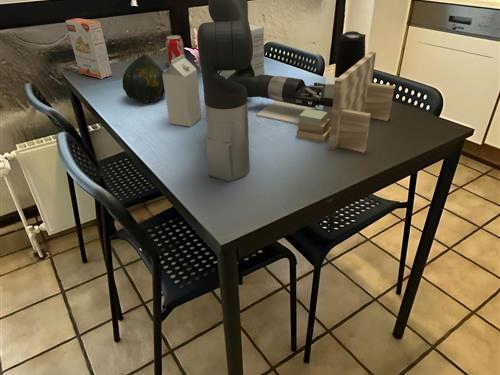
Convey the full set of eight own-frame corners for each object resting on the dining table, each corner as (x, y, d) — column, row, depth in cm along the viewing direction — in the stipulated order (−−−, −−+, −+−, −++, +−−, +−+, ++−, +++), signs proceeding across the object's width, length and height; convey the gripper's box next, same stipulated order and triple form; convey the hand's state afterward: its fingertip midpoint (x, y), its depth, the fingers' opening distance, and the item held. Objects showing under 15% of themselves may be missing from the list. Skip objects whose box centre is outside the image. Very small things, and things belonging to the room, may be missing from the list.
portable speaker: (340, 88, 141) (346, 29, 130) (364, 93, 135) (373, 33, 125) (327, 94, 135) (332, 34, 125) (352, 101, 130) (360, 38, 119)
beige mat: (297, 124, 116) (297, 123, 116) (256, 115, 122) (256, 114, 122) (316, 108, 126) (316, 106, 125) (277, 100, 132) (277, 99, 132)
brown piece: (361, 156, 99) (371, 85, 89) (328, 149, 103) (334, 80, 93) (390, 116, 119) (401, 55, 109) (362, 111, 123) (370, 51, 113)
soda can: (178, 70, 164) (174, 39, 158) (165, 67, 167) (161, 37, 161) (189, 65, 169) (185, 36, 162) (176, 63, 172) (173, 34, 166)
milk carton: (169, 124, 119) (159, 59, 108) (181, 115, 124) (173, 52, 114) (190, 127, 117) (182, 61, 106) (201, 117, 122) (195, 54, 112)
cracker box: (78, 74, 162) (64, 20, 151) (91, 71, 166) (78, 17, 155) (100, 80, 156) (87, 23, 144) (113, 76, 160) (101, 20, 148)
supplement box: (217, 75, 157) (214, 28, 147) (239, 67, 165) (238, 22, 155) (242, 82, 149) (241, 33, 140) (265, 73, 157) (264, 26, 148)
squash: (118, 94, 125) (143, 53, 123) (112, 83, 137) (134, 45, 135) (156, 116, 134) (181, 79, 131) (147, 104, 146) (169, 69, 143)
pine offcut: (324, 144, 106) (324, 136, 105) (296, 138, 109) (296, 130, 108) (331, 135, 110) (332, 127, 109) (305, 130, 114) (305, 122, 112)
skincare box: (336, 125, 115) (340, 84, 108) (321, 124, 116) (324, 83, 109) (337, 116, 120) (340, 77, 113) (322, 116, 121) (325, 76, 114)
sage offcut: (320, 126, 104) (321, 119, 103) (299, 122, 106) (299, 115, 105) (326, 119, 108) (327, 112, 107) (306, 115, 110) (306, 108, 109)
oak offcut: (322, 135, 105) (323, 126, 104) (297, 130, 108) (298, 122, 107) (329, 127, 109) (330, 119, 108) (305, 123, 112) (305, 114, 111)
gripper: (275, 84, 113) (330, 94, 106) (297, 71, 123) (349, 78, 116) (275, 109, 117) (328, 120, 110) (296, 94, 127) (346, 103, 120)
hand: (338, 98), depth 113 cm, fingers closed on skincare box, 7 cm apart
